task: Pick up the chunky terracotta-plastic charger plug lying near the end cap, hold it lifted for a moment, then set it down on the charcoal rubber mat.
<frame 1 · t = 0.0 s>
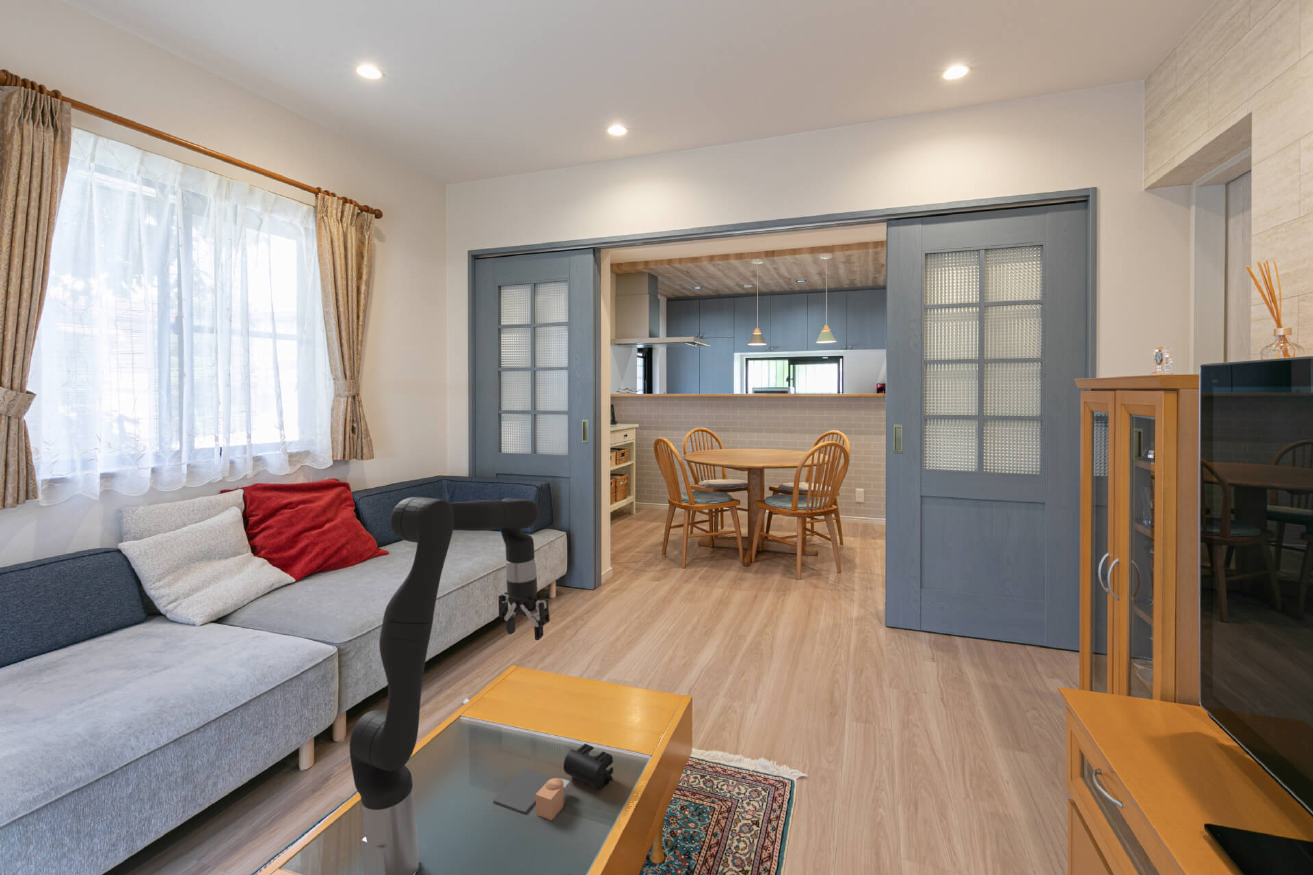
hand: (525, 635, 159), 29 cm above the table, fingers open, 8 cm apart
mat: (525, 790, 145), on the table
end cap: (589, 781, 148), on the table
plug: (552, 807, 139), on the table
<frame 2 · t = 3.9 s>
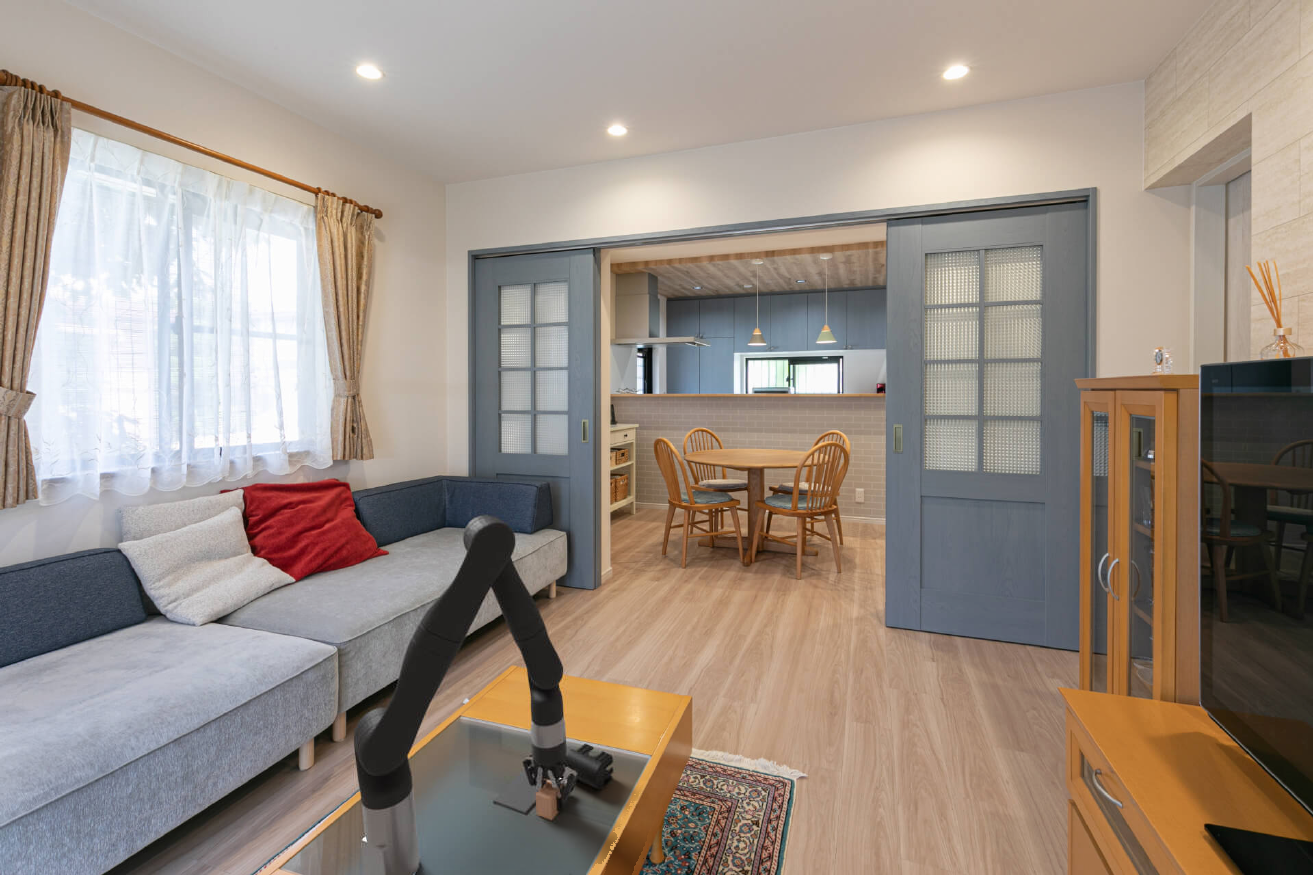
hand: (552, 805, 139), 0 cm above the table, fingers closed on plug, 4 cm apart
plug: (552, 807, 139), on the table, touching gripper
everything else where it was.
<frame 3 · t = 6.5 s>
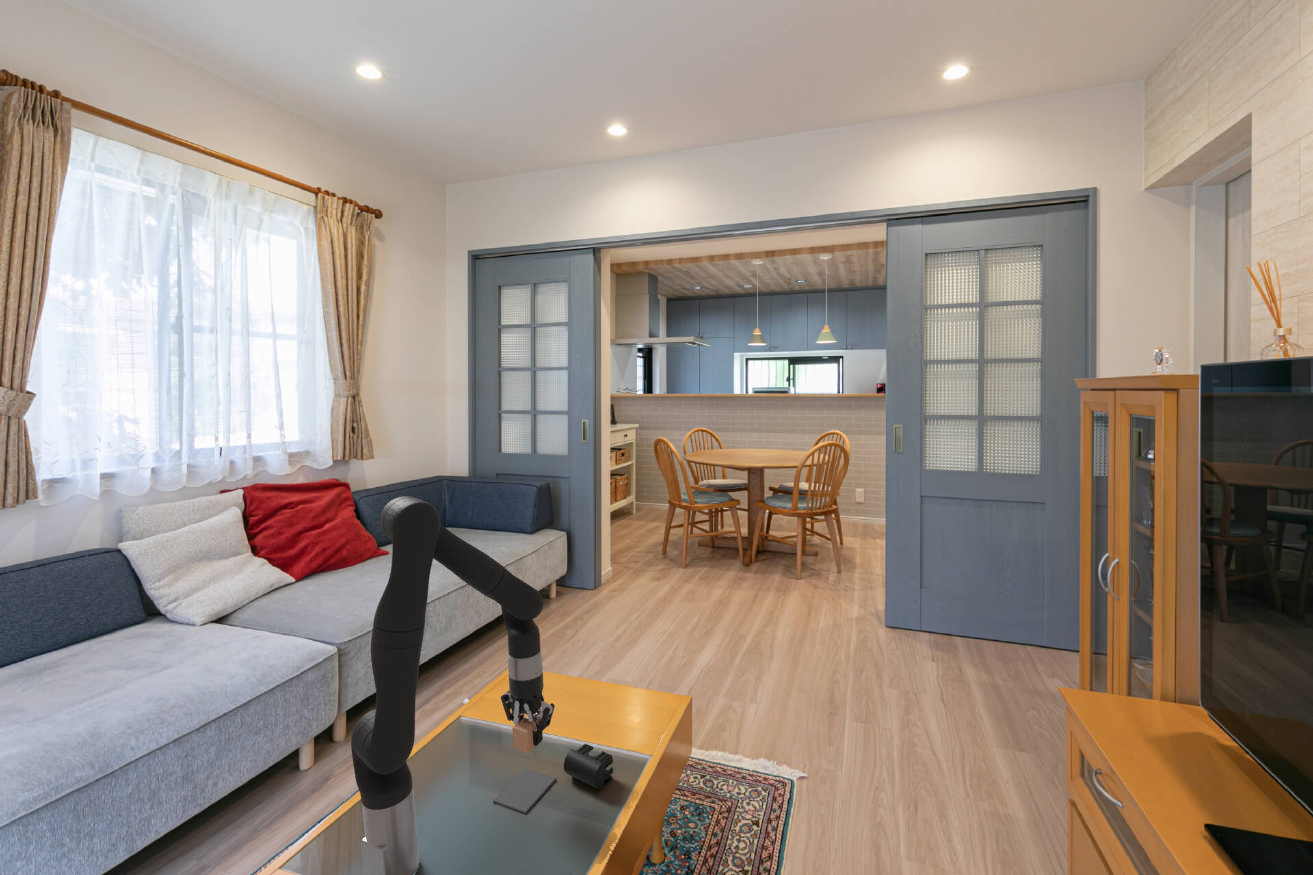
hand: (529, 740, 141), 14 cm above the table, fingers closed on plug, 4 cm apart
plug: (529, 742, 141), point 14 cm above the table, touching gripper
everything else where it was.
when the fingers open (2 cm above the table, at t = 9.4 s): plug stays where it is, resting on mat.
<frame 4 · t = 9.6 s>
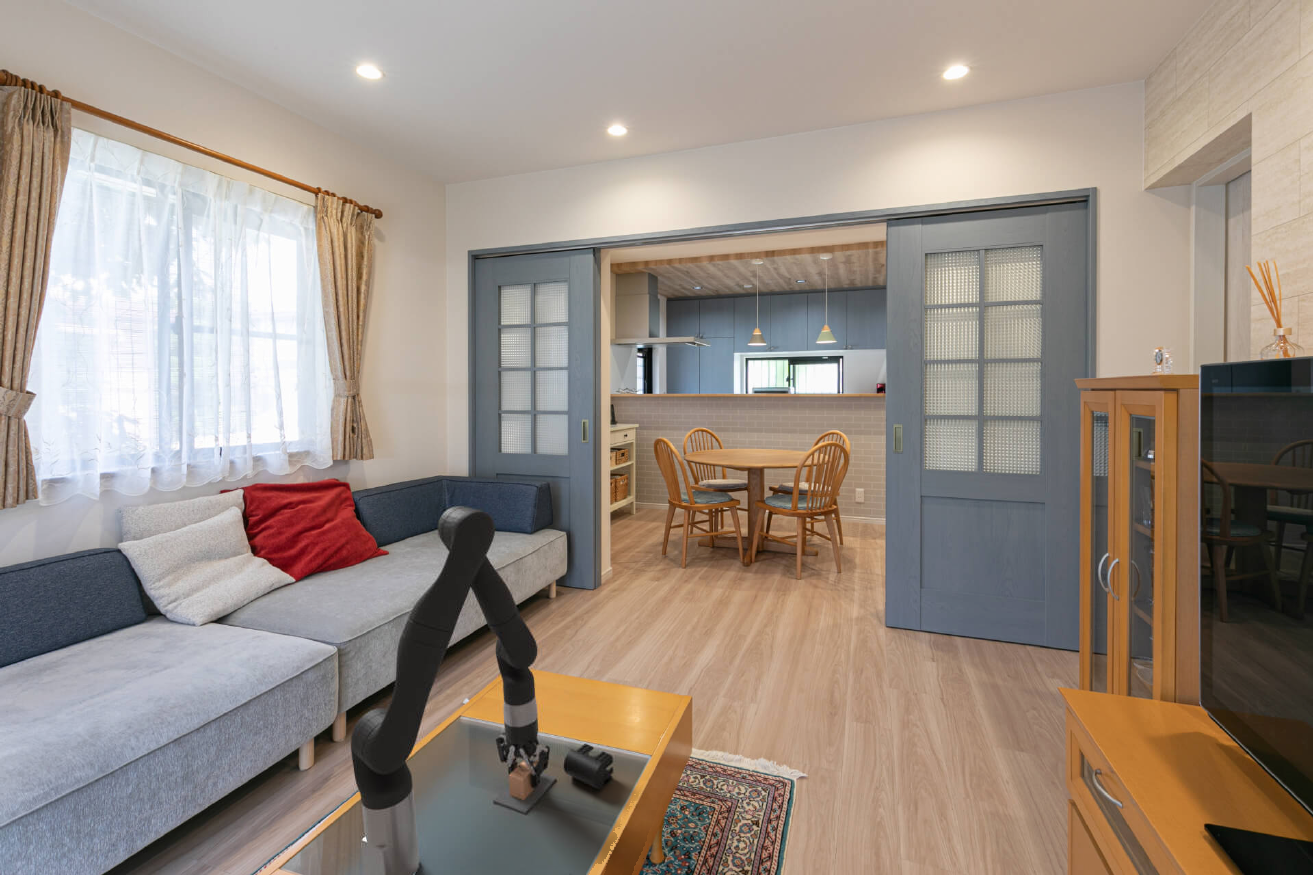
hand: (524, 782, 145), 2 cm above the table, fingers open, 5 cm apart
plug: (525, 788, 145), resting on mat
everything else where it was.
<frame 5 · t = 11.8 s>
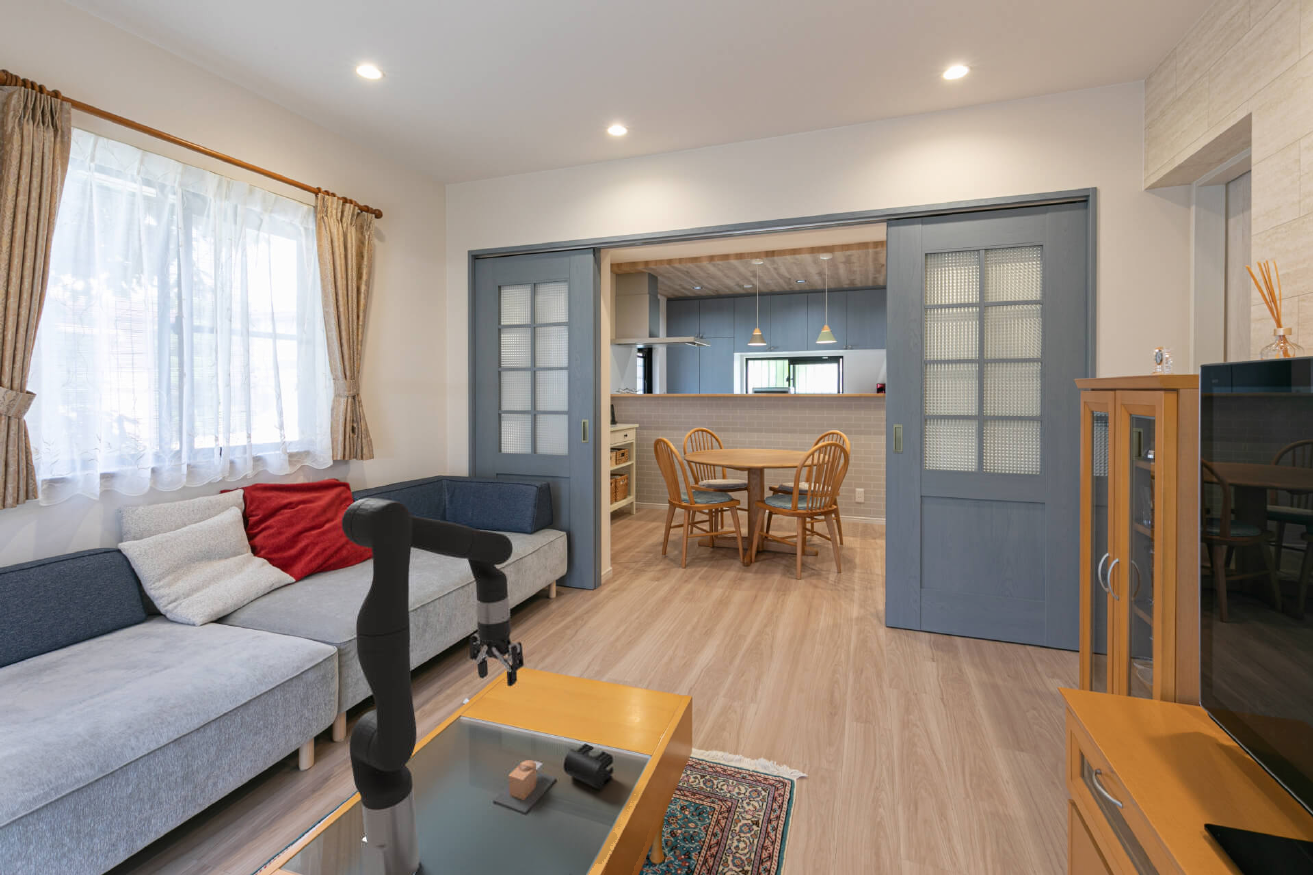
hand: (497, 680, 147), 25 cm above the table, fingers open, 8 cm apart
nothing on the table moved.
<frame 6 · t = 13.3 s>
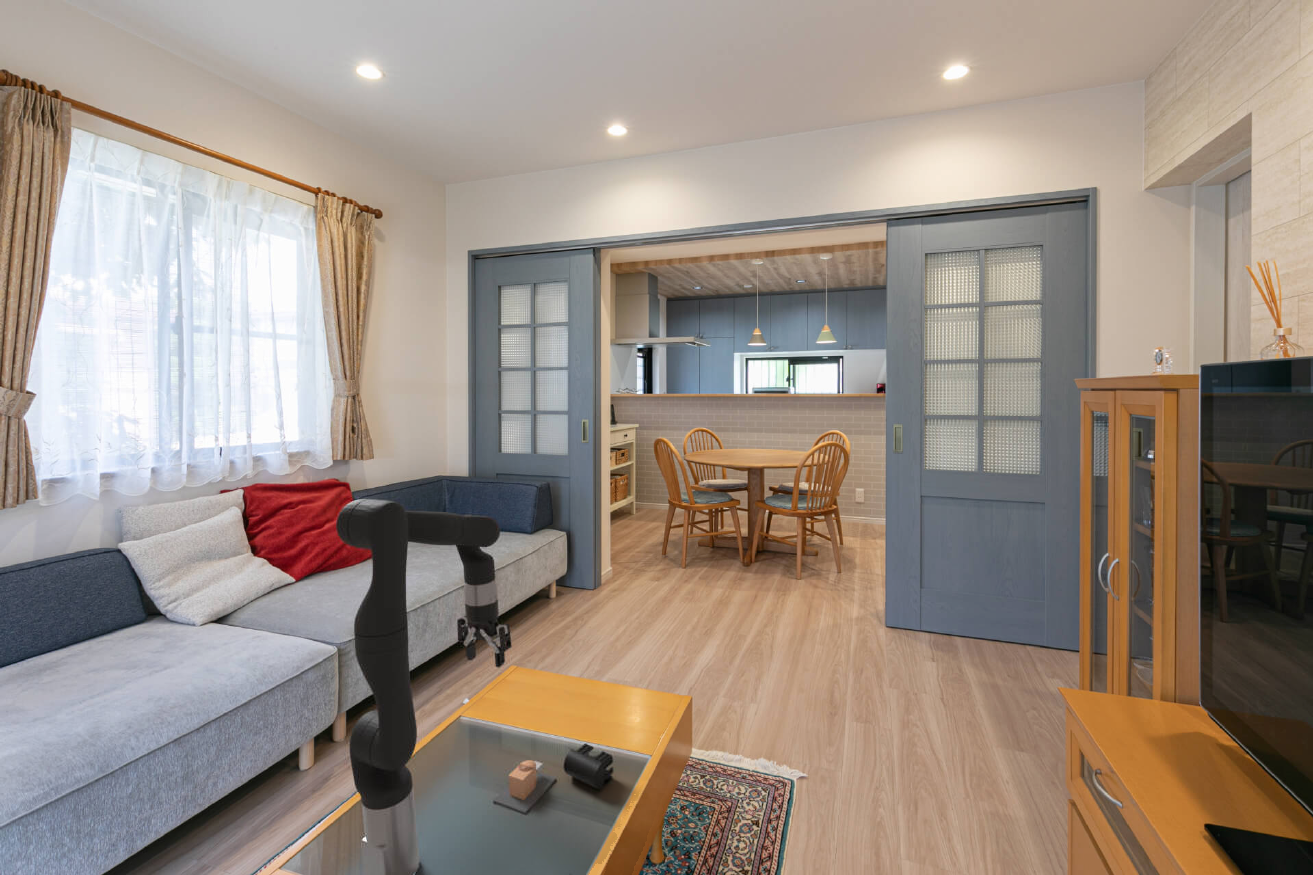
hand: (485, 662, 149), 28 cm above the table, fingers open, 8 cm apart
nothing on the table moved.
at the end: plug inside the target area on the mat (0.1 cm from its centre), point 0.5 cm above the mat's base; the gripper is holding nothing; plug moved 9.2 cm from its start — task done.
